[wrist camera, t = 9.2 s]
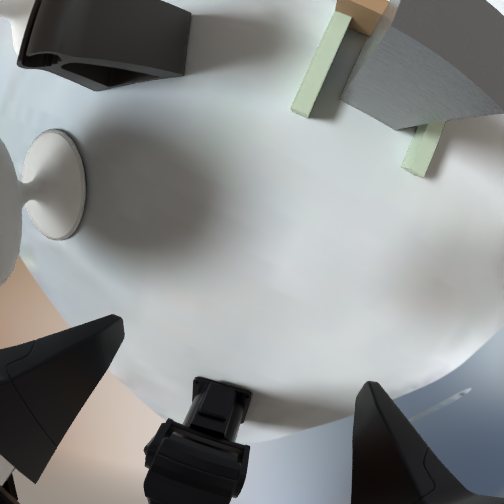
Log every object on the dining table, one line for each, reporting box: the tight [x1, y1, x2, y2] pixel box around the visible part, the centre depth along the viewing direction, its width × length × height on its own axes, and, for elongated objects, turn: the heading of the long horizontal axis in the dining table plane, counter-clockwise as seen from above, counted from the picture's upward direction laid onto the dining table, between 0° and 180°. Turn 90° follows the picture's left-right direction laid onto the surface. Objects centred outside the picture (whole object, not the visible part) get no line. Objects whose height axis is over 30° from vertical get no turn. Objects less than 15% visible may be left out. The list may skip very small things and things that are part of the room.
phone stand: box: [17, 0, 191, 91], centre depth 11 cm, size 9×6×12 cm, turn 86°
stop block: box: [339, 0, 504, 130], centre depth 10 cm, size 4×4×12 cm
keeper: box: [291, 0, 446, 177], centre depth 13 cm, size 10×10×4 cm
